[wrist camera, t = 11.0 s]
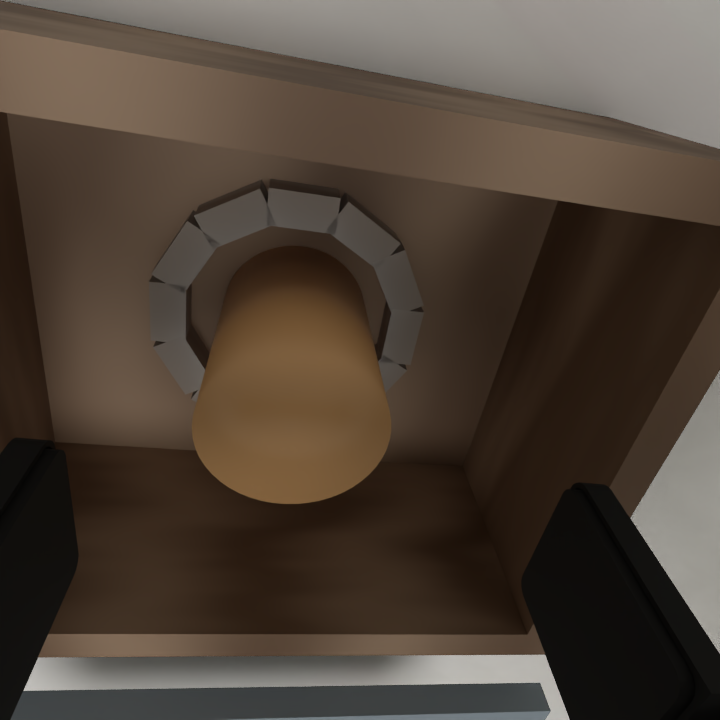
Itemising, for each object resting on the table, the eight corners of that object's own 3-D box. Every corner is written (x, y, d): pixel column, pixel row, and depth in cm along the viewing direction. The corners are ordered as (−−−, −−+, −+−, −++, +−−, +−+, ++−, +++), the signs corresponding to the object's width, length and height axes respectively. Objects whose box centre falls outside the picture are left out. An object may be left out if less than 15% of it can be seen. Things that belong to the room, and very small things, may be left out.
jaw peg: (375, 255, 16) (409, 359, 11) (352, 375, 19) (373, 507, 13) (226, 236, 16) (192, 339, 11) (221, 364, 18) (191, 499, 13)
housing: (612, 118, 15) (833, 181, 9) (476, 477, 23) (547, 654, 16) (-48, -9, 12) (-403, -45, 6) (33, 452, 19) (-92, 657, 13)
